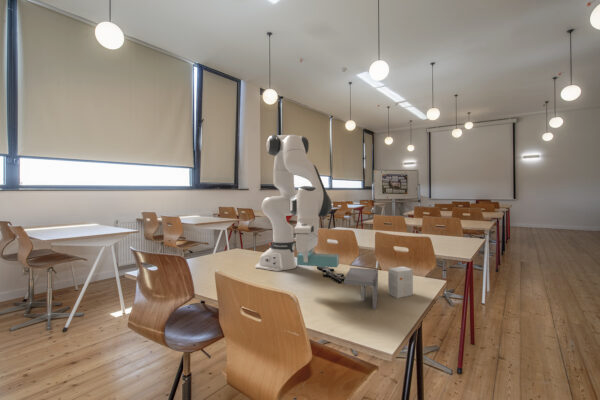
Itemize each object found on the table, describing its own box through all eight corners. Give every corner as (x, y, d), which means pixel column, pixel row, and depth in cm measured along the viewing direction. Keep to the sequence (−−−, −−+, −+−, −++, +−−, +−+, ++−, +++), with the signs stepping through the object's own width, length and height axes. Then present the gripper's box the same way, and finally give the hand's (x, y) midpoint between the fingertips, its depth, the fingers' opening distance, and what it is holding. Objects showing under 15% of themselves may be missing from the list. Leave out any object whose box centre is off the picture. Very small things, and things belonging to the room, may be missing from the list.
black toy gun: (310, 267, 158) (327, 265, 162) (310, 270, 158) (327, 268, 162) (335, 281, 133) (354, 279, 137) (335, 285, 133) (354, 282, 137)
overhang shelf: (344, 305, 108) (344, 279, 108) (350, 289, 125) (350, 267, 125) (375, 309, 105) (376, 282, 105) (377, 292, 122) (377, 269, 122)
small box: (403, 291, 124) (403, 266, 123) (413, 295, 119) (413, 269, 118) (387, 293, 121) (387, 268, 120) (397, 298, 115) (397, 271, 115)
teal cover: (297, 265, 119) (297, 255, 119) (300, 262, 124) (300, 252, 124) (336, 267, 115) (336, 257, 115) (338, 264, 120) (338, 254, 120)
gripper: (307, 223, 131) (307, 254, 132) (292, 229, 112) (293, 265, 112) (321, 223, 129) (321, 255, 130) (309, 229, 110) (309, 266, 110)
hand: (308, 260), depth 121 cm, fingers closed on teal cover, 5 cm apart
